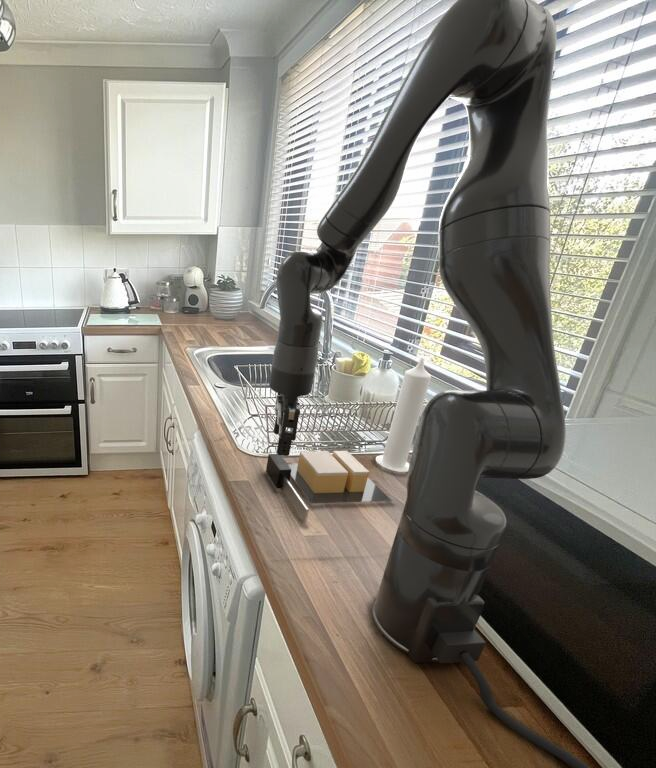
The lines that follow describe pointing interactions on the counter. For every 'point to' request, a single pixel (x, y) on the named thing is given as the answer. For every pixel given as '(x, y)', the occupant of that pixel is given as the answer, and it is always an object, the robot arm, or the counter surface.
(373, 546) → the counter surface
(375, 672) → the counter surface
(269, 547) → the counter surface
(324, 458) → the tan rectangular block
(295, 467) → the board
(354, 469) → the slice
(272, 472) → the knife
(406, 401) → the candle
